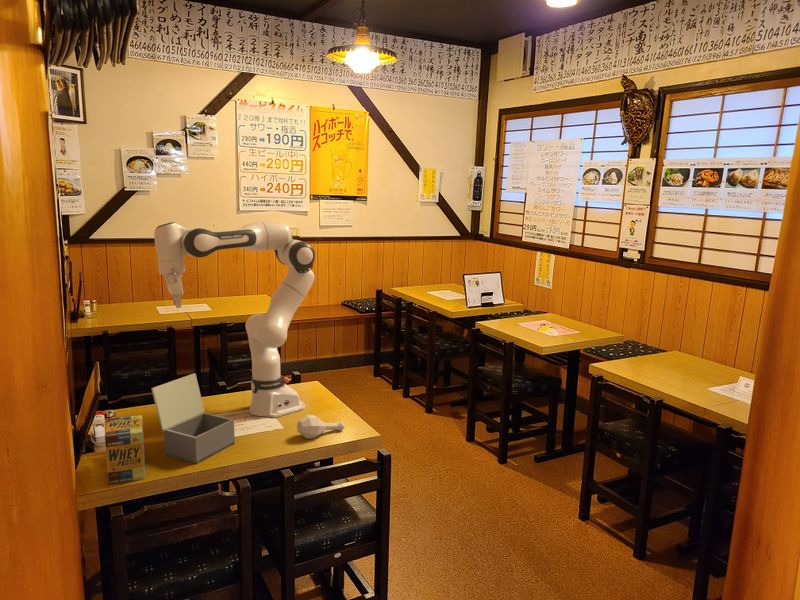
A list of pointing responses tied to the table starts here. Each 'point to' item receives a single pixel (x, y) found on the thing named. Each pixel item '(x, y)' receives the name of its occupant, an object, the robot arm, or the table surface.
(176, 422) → the lid
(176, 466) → the table surface
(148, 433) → the table surface
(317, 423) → the chicken leg
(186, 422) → the storage box
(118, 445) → the protein box
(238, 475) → the table surface
